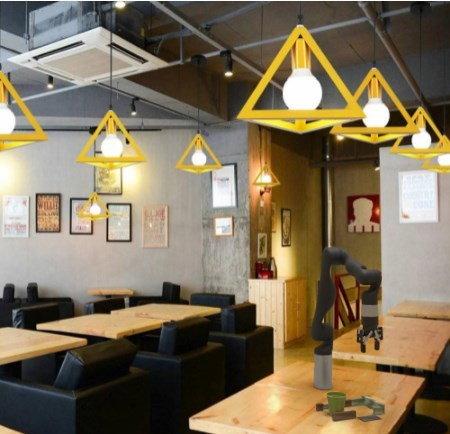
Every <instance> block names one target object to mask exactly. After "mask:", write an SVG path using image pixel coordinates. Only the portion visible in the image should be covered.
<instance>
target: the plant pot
mask: <svg viewBox="0 0 450 434" xmlns="http://www.w3.org/2000/svg"><path fill="white" fill-rule="evenodd" d="M325 396H326V400H327V404H328V405H329V409H328V411H329V414H330V415H331V416H332V413H337V412H344V411H345V408H346V407H345V400H346V399H347V397H348V394H347V393H346V392H343V391H335V390H334V391H333V390H332V391H327V392H325ZM344 407H345V408H344Z"/></svg>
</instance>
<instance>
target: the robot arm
mask: <svg viewBox="0 0 450 434" xmlns="http://www.w3.org/2000/svg"><path fill="white" fill-rule="evenodd" d="M332 266H335V267H337V266H344V267H345V271H346V272H347V273H348V274H349V275H350V276H352V277H354V278H355V279H356V282H357V283H358V284H359V285H362V286H369V287H368V289H365V290H363V291H362V292H361V294H360V295H361V297H360V298H361V300H360V301H361V306H360V325H361V326H362V328H357V329H356V343H358V344H360V353H362V354H366V353H367V350H366V349H367V348H366V347H367V345H366V344H367V341H369V339H373V340H374V347H373V348H374V351H379V350H380V349H381V348H380V345H381V344H380V342H381V341H383V340H384V328H383V326H380V325H379V324H380V323H379V321H380V320H379V319H380V318H379V314H380V313H379V292H380V289H381V284H382V279H383V277H382V273H381V271H380V270H378V269H377V268H371V269H368V268H367V266H366V265H365V264H363V263H362V262H360V261H358V260H356V259H354V257H353V256H351V255H350V254H349V252H348V251H346V250H345V248H343V247H341V246H327V247H324V248H323V250H322V253H321V264H320V276H319V281H318V282H319V284H318V288H317V289H318V290H317V296H316V303H315V310H314V315H313V317H312V318H313V319H312V322H311V327H310V337H311V339H312V341H315V342H321V344H319V345H317V346H316V347H314V349H313V350H314V351H313V357H314V359H313V361H314V363H313V364H314V365H313V366H314V367H313V386H314V388H315V389H317V390H331V389H333V351H334V327H333V325H332V323H331V322H323V321H324V319H325V317H326V315H327V314H328V313H329V311H331V309H332V308H333V306H334V305H335V302H336V298H337V288H336V285H335V283H334V281H333V279H332V276H331V268H332Z"/></svg>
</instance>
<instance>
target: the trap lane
mask: <svg viewBox="0 0 450 434" xmlns="http://www.w3.org/2000/svg"><path fill="white" fill-rule="evenodd" d="M359 406H365V407H367V408H369V409H370V410H372V414H370V415H364V416H363V415H362V416H357V411H356V410H355V409H352V410H346V411H345V410H344V412H337V413H332V415H331V420H332V421H333V422H339V421H345V420H351V419H352V420H353V419H358V420H360V421H362V422H364V423H365V422H373V421H377V420H382V417H380V416H379V415H385V414H386V412H385V410H386V406H385V404H384V403H382V402H380V401H379V400H375V399H374V398H371V397H369V396H367V395H366V394H361V397H354V398H348V399H347V398H346V400H345V407H344V409H345V408H349V407H359ZM324 410H329V405H328V403H323V402H319V403H318V402H316V403H315V411H316V412H323V411H324Z"/></svg>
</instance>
